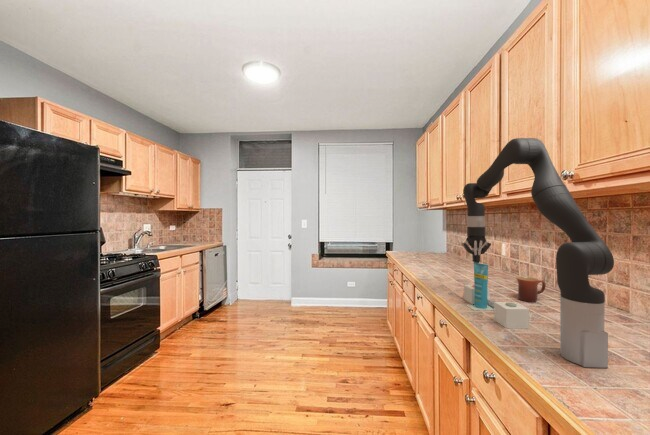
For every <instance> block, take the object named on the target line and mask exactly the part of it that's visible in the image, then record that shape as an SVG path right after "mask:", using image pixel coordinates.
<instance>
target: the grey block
mask: <svg viewBox="0 0 650 435" xmlns="http://www.w3.org/2000/svg"><path fill="white" fill-rule="evenodd" d="M472 285H473V284H463V300H464V301H465V302H467V303H469V305H473V304H474V288H473V287H472ZM490 291H491V290H490V288H488V287H487V299H491V297H490V295H491V292H490Z"/></svg>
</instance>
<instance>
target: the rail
mask: <svg viewBox="0 0 650 435" xmlns="http://www.w3.org/2000/svg"><path fill="white" fill-rule="evenodd" d="M494 302H497V301H496V300H495V299H492V298H490V299H487V305H488V306H490V307H491V308H493V309H494Z"/></svg>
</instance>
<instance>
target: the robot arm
mask: <svg viewBox="0 0 650 435" xmlns="http://www.w3.org/2000/svg"><path fill="white" fill-rule="evenodd" d="M549 154H550V153H549V152H548V150H547V147H546V145H545V144H544V142H543V141H542V140H541V139H539V138H535V137H518V138H517V137H516V138H513V139H511V140H509V141H508V142H507V143H506V144H505V145H504V147H503V148H502V149H501V151H500V152H499V154H498V155H497V156H496V157H495V159H494V160H493V162H492V163H491V165H490V166H489V167H488V168H487V169H486V170H485V171H484V172H483V173H482V174H481V175H480V176H479V177H478V178H477V180H476V182H468V183H466V184H465V185H464V187H463V191H462V192H463V197H464V199H465V202H466V207H467V218H466V236H467V238H466V239H465V240H466V241H464V242H461V246H462V247H463V248H464V249H465V251H466V252H467V253H468V254H470V255H472V262H473V263H474V262H475V263H479V264H480V262H481V255H485V253H486V252H487V250H488V249H489V248H490V247H491V245H492V243H491V242H488V241H487V238H486V217H485V215H486V212H485V211H486V210H485V205H484V203H480V202H477V201H476V199H483V198H487V197H488V195H490V193H491V191H492V189H493V188H494V187H496V185H498V184H499V183H500V182H501V181H502V179H503V178H504V175H505V169H506V168H508V167H509V166H511V165H513V164H514V165H527V166H529V167H530V169H531V170H532V173H533V175H534V179H533V183H532V186H531V189H530V190H531V191H530V195H531V198H532V200H533V202H534V204H535V206H536V208H537V210H538V211H539V212H540V214H541V215H542V216H544V218H545V219H547V220H548V221H549V222H551V223H552V224H553V225H555V226H556V227H558V228H559V229H560V230H561V231H562V232H564V233H565V234H566V235H567V237H568V238H569V240H570V241H571V242H569V241H568V242H565V243H562V244H561V245H559V247H558V249H557V251H556V255H555V265H556V282H557V286H558V288H559V290H560V291H559V292H560V300H559V301H560V305H559V306H560V314H559V316H560V317H559V318H560V319H559V320H560V323H559V327H560V328H559V329H560V330H559V332H560V333H559V336H560V337H559V338H560V339H559V340H560V342H559V343H560V346H559V347H560V350H559V351H560V356H561V357H562V358H563V359H565V360H567V361H569V362H571V363H573V364H577V365H579V366H582V367H583V368H597V369H598V368H602V369H603V368H608V367H609V333H608V332H607V331H606V330H605V313H606V312H605V311H606V310H605V306H606V304H605V303H606V301H605V300H606V296H605V292H604V291H603V290H602V289H599V288H596V287H594V286H592V285H590V280H589V276H599V275H600V276H601V275H605V274H609V273H610V272H611V271H612V270H613V269H614V266H615V261H614V260H615V259H614V255H613V254H612V251H611V250H610V248H609V247H608V245H607V244H606V242H604V240H603V239H602V238H601V236H600V235H599V234H598V233H597V231H596V230H595V229H594V228H593V226H592V225H591V223H590V222H589V221H588V219H587V217H585V215H584V213H583V212H582V211H581V208H580V207H579V206H578V204H577V203H576V201H575V200H574V197H573V195H572V194H571V192H570V191H569V189H568V187H567V186H566V184H565V183H564V182H563V180H562V178H561V176H560V175H559V173H558V171H557V170H556V168H555V166H554V164H553V162H552V160H551V156H550V155H549Z"/></svg>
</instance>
